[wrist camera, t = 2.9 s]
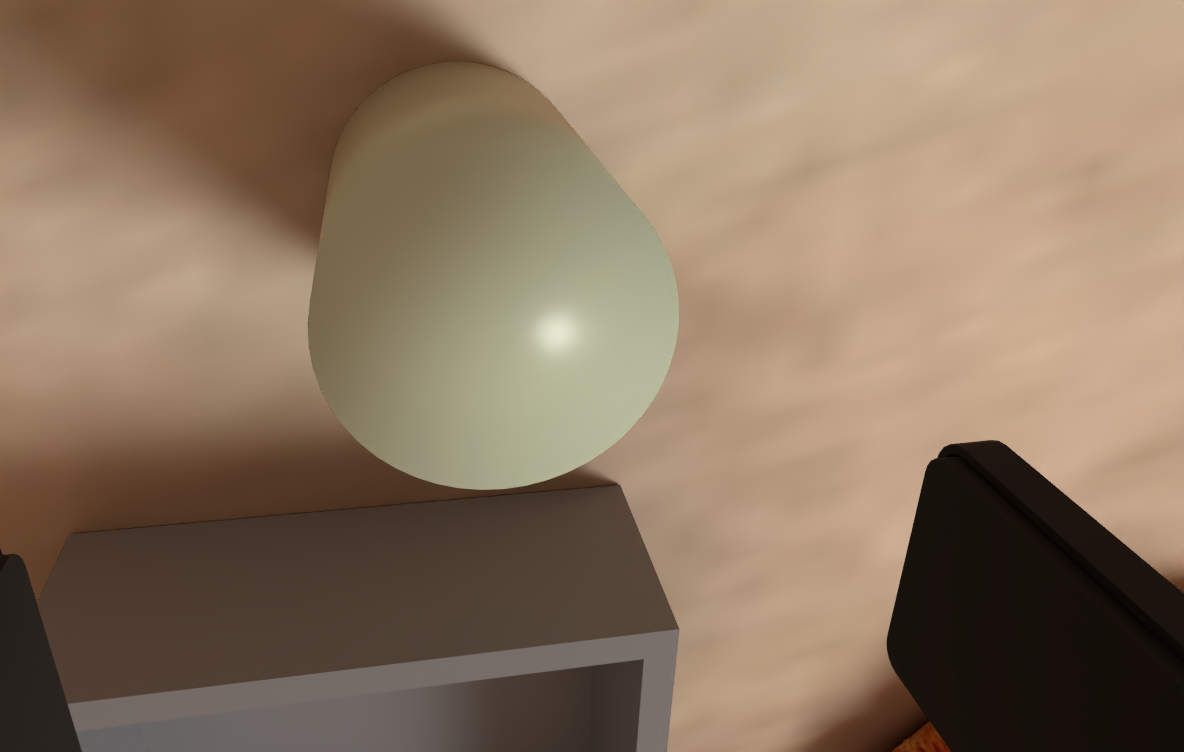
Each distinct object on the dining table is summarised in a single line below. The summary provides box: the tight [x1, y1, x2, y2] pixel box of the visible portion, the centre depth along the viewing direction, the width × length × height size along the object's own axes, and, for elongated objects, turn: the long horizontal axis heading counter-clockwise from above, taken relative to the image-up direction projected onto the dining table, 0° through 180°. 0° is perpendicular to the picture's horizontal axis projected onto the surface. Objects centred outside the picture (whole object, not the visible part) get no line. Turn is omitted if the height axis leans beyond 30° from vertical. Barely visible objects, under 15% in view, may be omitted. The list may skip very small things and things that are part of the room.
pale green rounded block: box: [308, 62, 679, 490], centre depth 18 cm, size 6×6×8 cm
